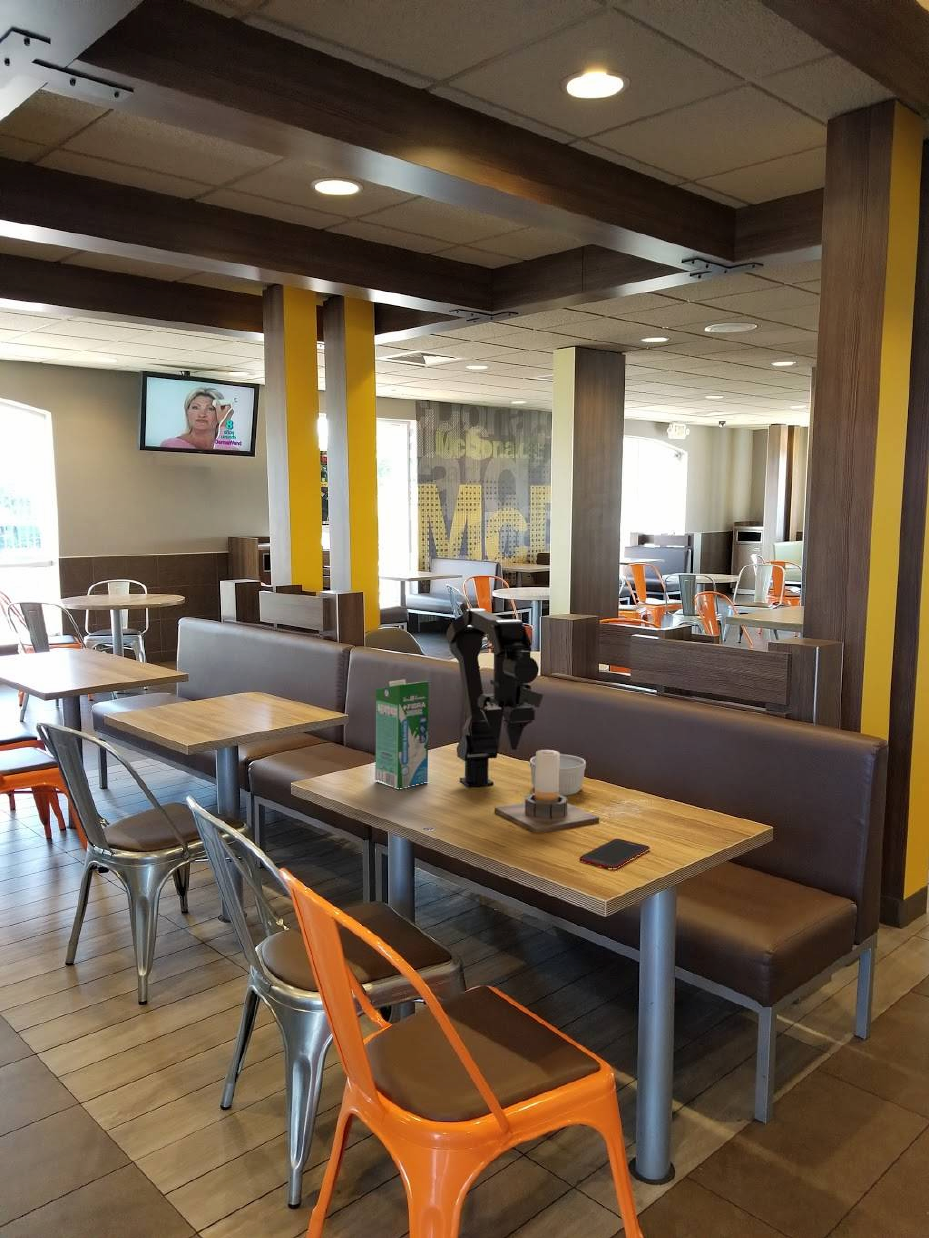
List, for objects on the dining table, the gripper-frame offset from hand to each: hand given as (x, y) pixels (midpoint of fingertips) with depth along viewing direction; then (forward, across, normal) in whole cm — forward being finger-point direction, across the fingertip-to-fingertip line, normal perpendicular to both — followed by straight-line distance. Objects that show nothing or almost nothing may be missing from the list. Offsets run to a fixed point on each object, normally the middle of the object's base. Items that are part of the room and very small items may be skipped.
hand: (505, 744), depth 210 cm
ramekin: (+13, +5, -16) cm, 21 cm away
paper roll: (+12, -13, -4) cm, 18 cm away
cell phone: (+14, -38, -6) cm, 41 cm away
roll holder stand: (+13, -13, -4) cm, 19 cm away
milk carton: (+13, +22, +17) cm, 31 cm away
